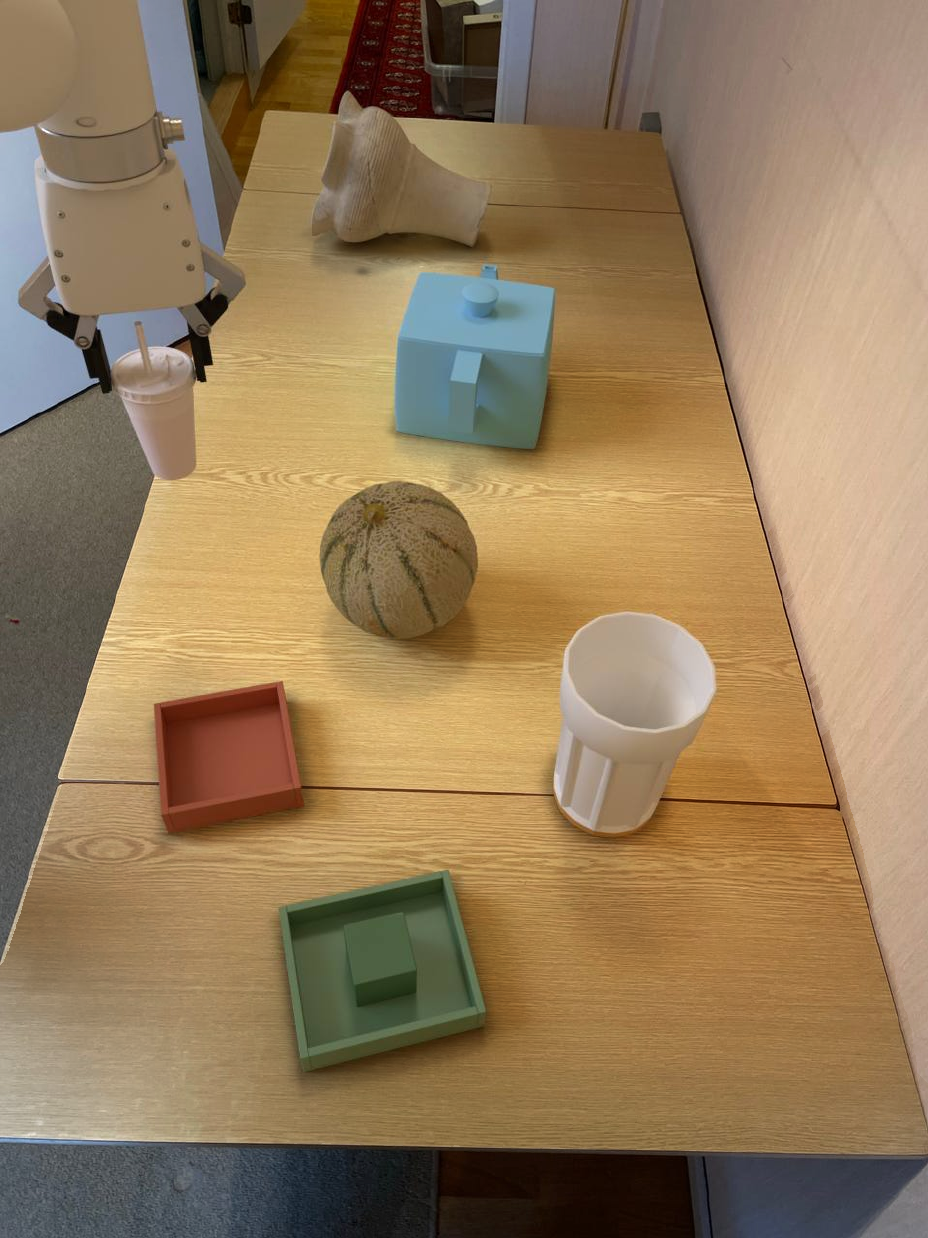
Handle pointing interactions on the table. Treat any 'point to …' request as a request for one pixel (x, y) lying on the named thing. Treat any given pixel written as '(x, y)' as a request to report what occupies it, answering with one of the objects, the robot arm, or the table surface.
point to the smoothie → (159, 405)
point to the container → (474, 359)
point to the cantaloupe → (398, 559)
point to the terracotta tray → (225, 757)
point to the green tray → (326, 986)
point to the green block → (380, 959)
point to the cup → (627, 718)
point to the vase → (391, 184)
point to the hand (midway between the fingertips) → (153, 375)
